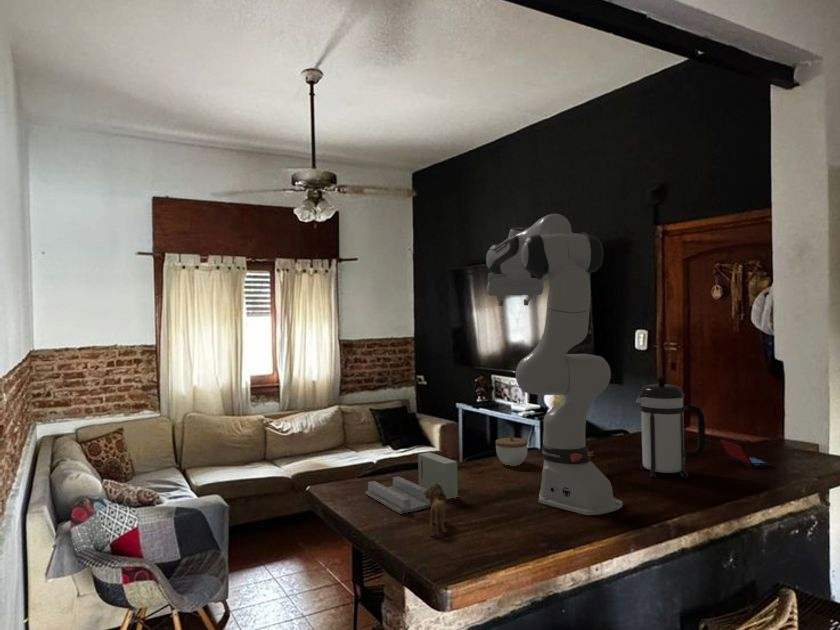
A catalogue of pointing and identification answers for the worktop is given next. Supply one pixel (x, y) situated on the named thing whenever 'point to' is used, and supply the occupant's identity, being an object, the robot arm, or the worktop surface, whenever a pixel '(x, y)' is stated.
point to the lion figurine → (436, 507)
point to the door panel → (438, 473)
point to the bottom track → (413, 502)
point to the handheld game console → (744, 456)
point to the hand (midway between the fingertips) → (513, 304)
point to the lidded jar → (511, 450)
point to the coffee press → (666, 429)
